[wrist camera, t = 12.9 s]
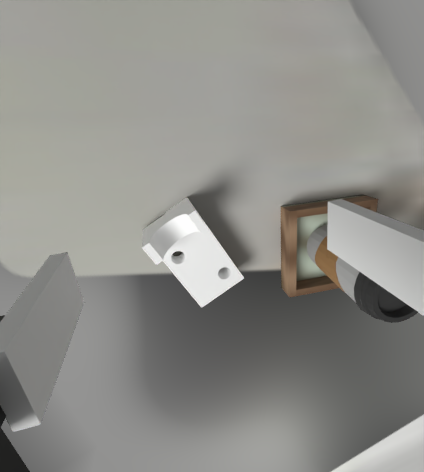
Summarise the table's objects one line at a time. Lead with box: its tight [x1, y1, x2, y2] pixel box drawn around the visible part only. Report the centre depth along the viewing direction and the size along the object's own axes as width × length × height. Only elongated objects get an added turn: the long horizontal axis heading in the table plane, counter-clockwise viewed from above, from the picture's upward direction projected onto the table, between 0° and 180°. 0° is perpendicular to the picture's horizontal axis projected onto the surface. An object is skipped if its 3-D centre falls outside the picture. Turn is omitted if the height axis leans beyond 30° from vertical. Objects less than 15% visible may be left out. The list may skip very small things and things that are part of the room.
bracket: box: [142, 197, 244, 307], centre depth 39 cm, size 13×7×8 cm, turn 34°
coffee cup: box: [307, 224, 418, 323], centre depth 38 cm, size 8×8×15 cm
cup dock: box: [281, 195, 378, 297], centre depth 44 cm, size 13×13×3 cm
